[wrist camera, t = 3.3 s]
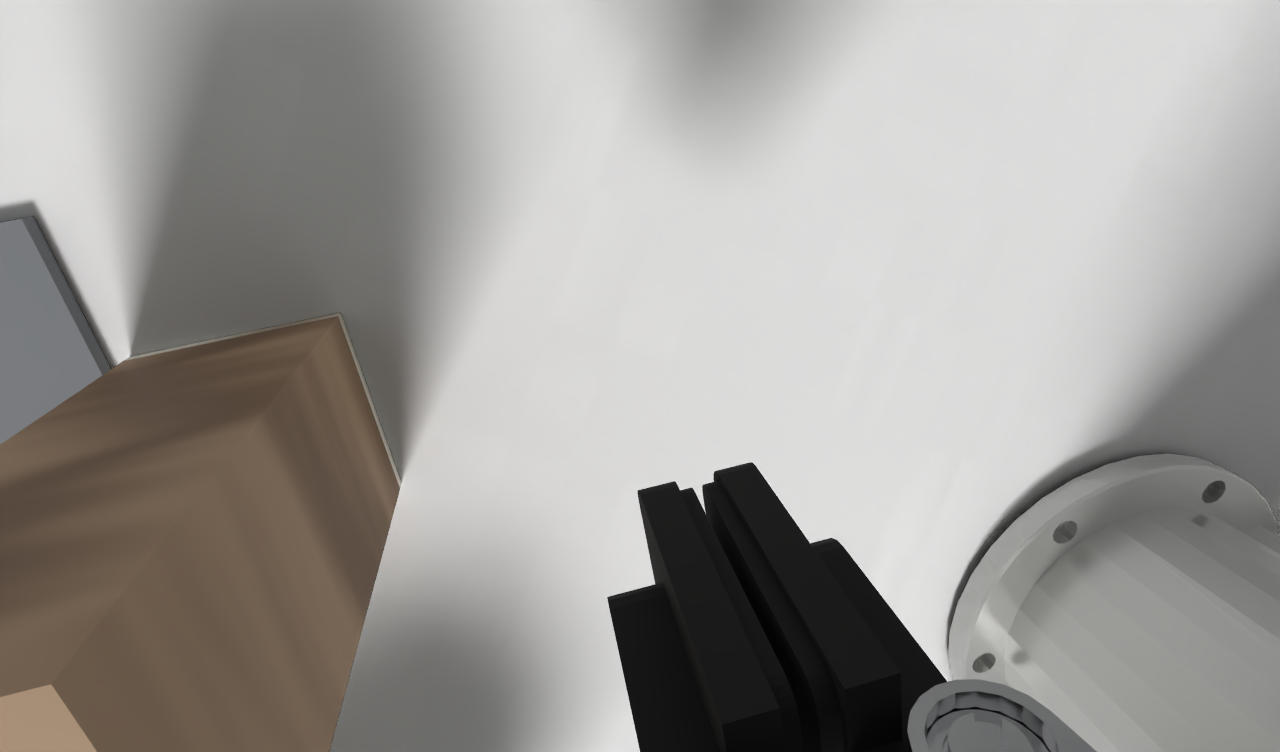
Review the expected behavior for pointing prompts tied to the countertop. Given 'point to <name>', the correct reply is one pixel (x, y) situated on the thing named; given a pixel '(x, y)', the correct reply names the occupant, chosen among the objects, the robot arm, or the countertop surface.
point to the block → (194, 549)
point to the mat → (39, 331)
